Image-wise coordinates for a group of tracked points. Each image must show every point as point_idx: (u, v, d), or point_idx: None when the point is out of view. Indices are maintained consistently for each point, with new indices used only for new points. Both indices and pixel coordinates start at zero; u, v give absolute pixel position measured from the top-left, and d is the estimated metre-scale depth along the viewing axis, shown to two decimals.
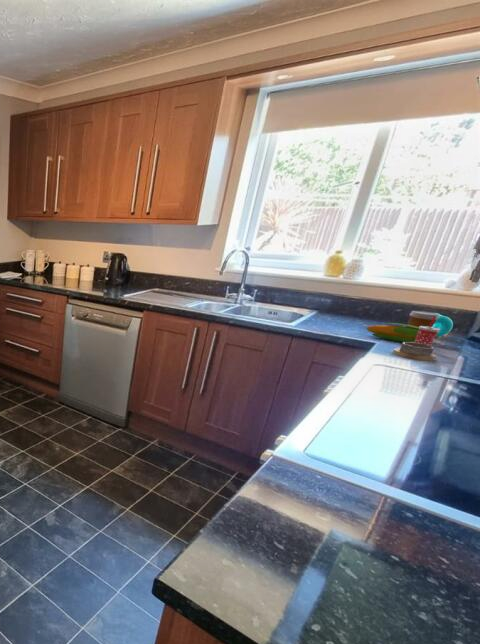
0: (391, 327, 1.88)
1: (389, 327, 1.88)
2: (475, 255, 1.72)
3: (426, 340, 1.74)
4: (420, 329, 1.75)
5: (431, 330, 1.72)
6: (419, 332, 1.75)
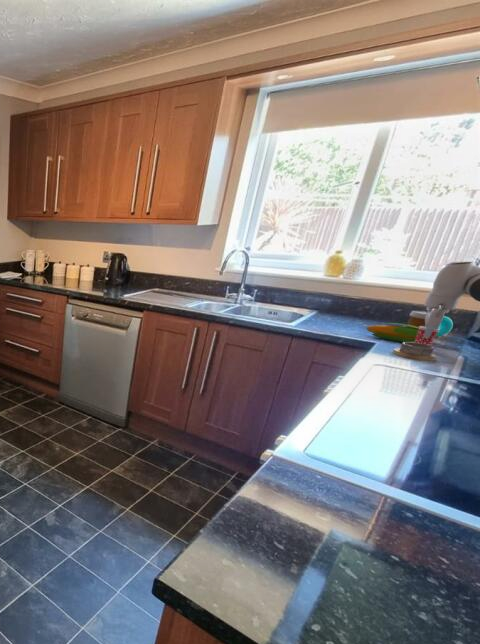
0: (391, 327, 1.88)
1: (389, 327, 1.88)
2: None
3: (425, 340, 1.74)
4: (420, 329, 1.75)
5: None
6: (419, 332, 1.75)
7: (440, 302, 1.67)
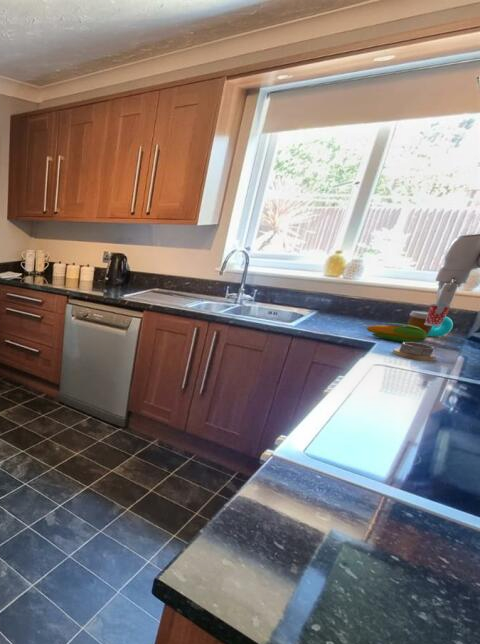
0: (391, 327, 1.88)
1: (389, 327, 1.88)
2: (440, 286, 1.74)
3: (438, 316, 1.70)
4: (432, 305, 1.71)
5: None
6: (431, 308, 1.71)
7: (452, 276, 1.63)
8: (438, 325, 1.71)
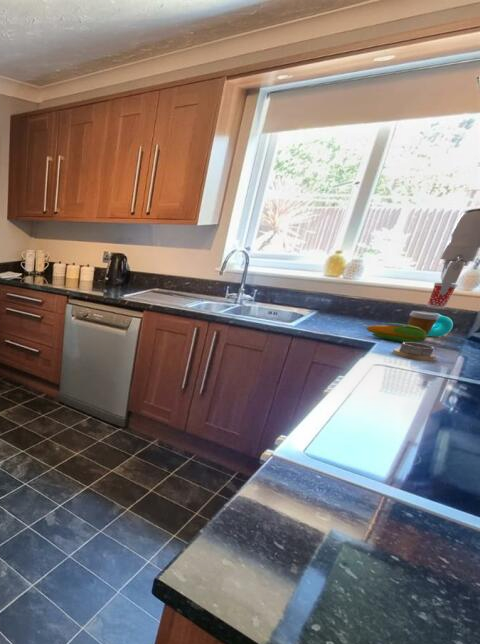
0: (391, 327, 1.88)
1: (389, 327, 1.88)
2: (445, 265, 1.63)
3: (441, 297, 1.58)
4: (435, 285, 1.59)
5: None
6: (434, 289, 1.60)
7: (459, 253, 1.52)
8: (442, 307, 1.60)
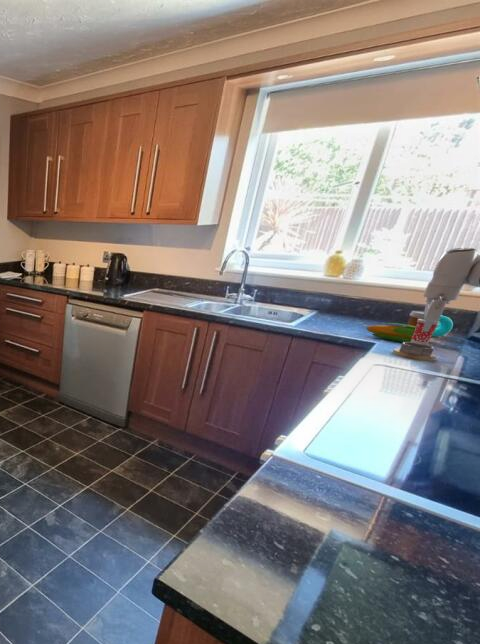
0: (391, 327, 1.88)
1: (389, 327, 1.88)
2: (428, 301, 1.65)
3: (424, 333, 1.61)
4: (419, 322, 1.62)
5: None
6: (417, 325, 1.63)
7: (440, 292, 1.55)
8: (425, 343, 1.62)
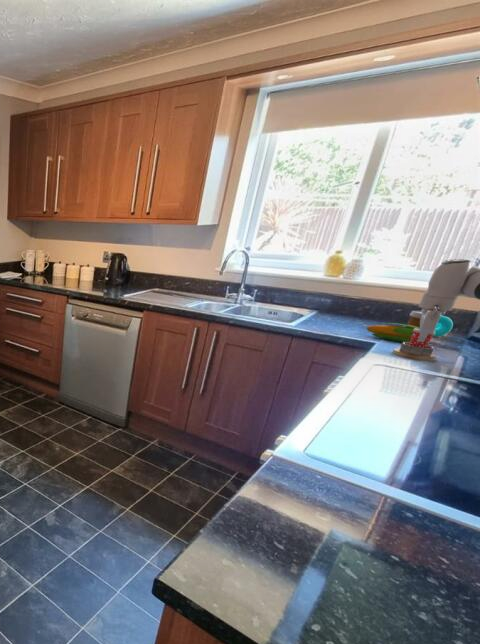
0: (391, 327, 1.88)
1: (389, 327, 1.88)
2: (424, 311, 1.67)
3: (420, 343, 1.63)
4: (414, 331, 1.64)
5: None
6: (413, 335, 1.64)
7: (436, 303, 1.56)
8: None
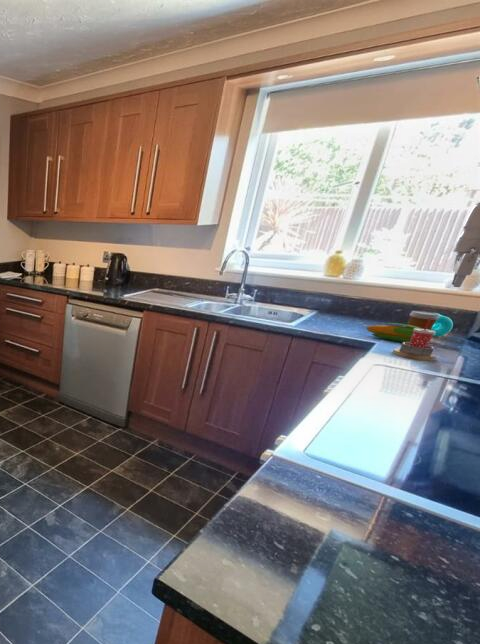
0: (391, 327, 1.88)
1: (389, 327, 1.88)
2: (457, 258, 1.62)
3: (420, 343, 1.63)
4: (414, 331, 1.64)
5: (426, 333, 1.61)
6: (413, 335, 1.64)
7: (472, 246, 1.51)
8: None
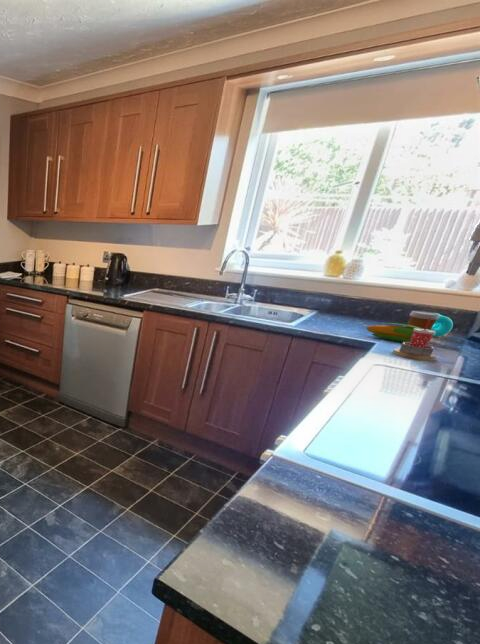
0: (391, 327, 1.88)
1: (389, 327, 1.88)
2: (472, 247, 1.65)
3: (420, 343, 1.63)
4: (414, 331, 1.64)
5: (426, 333, 1.61)
6: (413, 335, 1.64)
7: None
8: None
